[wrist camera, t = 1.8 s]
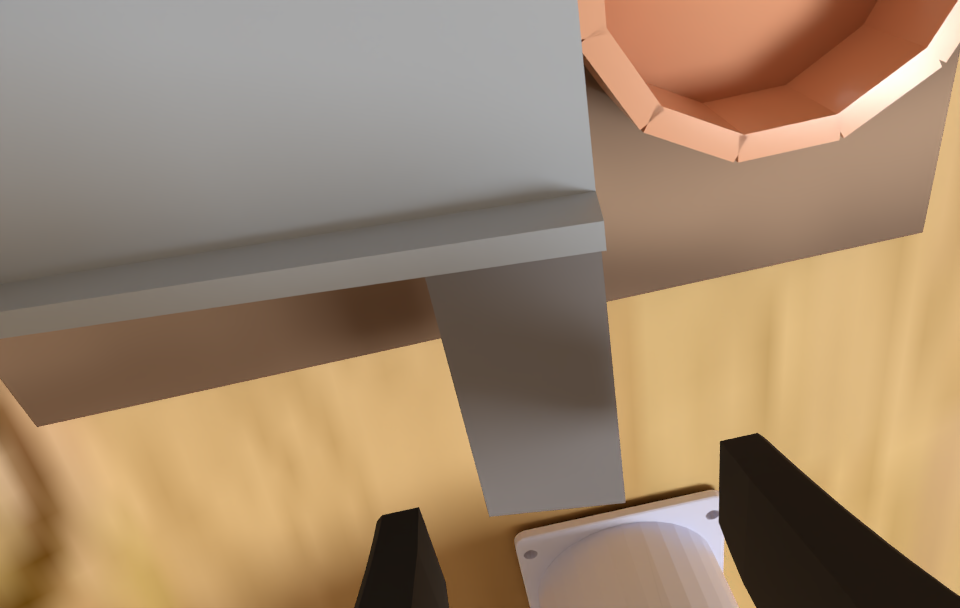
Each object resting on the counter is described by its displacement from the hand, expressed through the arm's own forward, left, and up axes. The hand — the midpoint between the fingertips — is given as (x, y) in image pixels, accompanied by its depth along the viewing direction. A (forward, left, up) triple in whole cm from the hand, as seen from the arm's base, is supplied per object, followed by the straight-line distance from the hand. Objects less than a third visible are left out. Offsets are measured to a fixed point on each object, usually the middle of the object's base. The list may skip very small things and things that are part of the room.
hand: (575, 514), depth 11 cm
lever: (+3, +6, -6) cm, 9 cm away
